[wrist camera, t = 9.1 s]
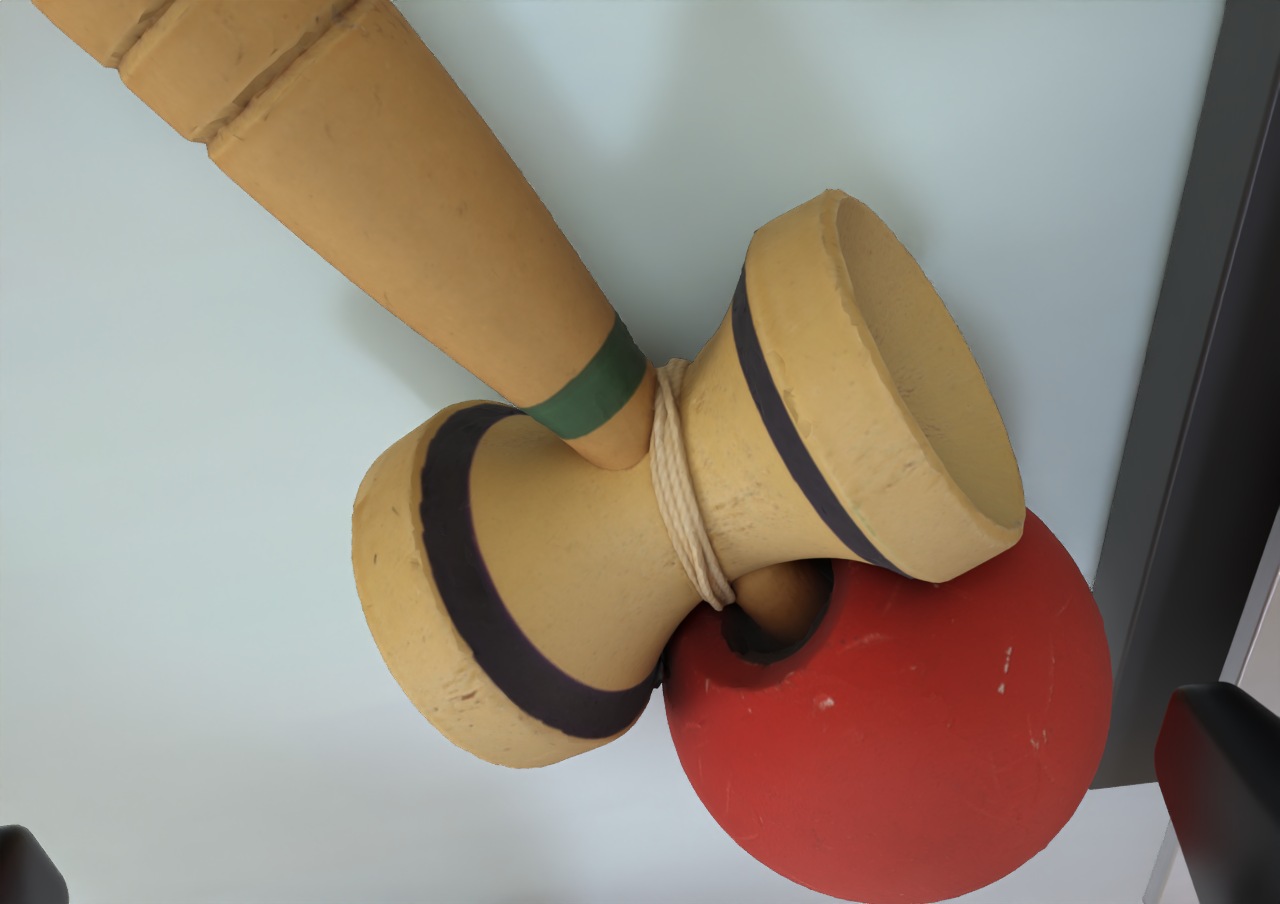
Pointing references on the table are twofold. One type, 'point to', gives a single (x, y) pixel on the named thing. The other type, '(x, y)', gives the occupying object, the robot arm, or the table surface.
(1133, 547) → the scale
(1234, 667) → the pan
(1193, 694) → the robot arm
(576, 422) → the kendama
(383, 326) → the table surface
